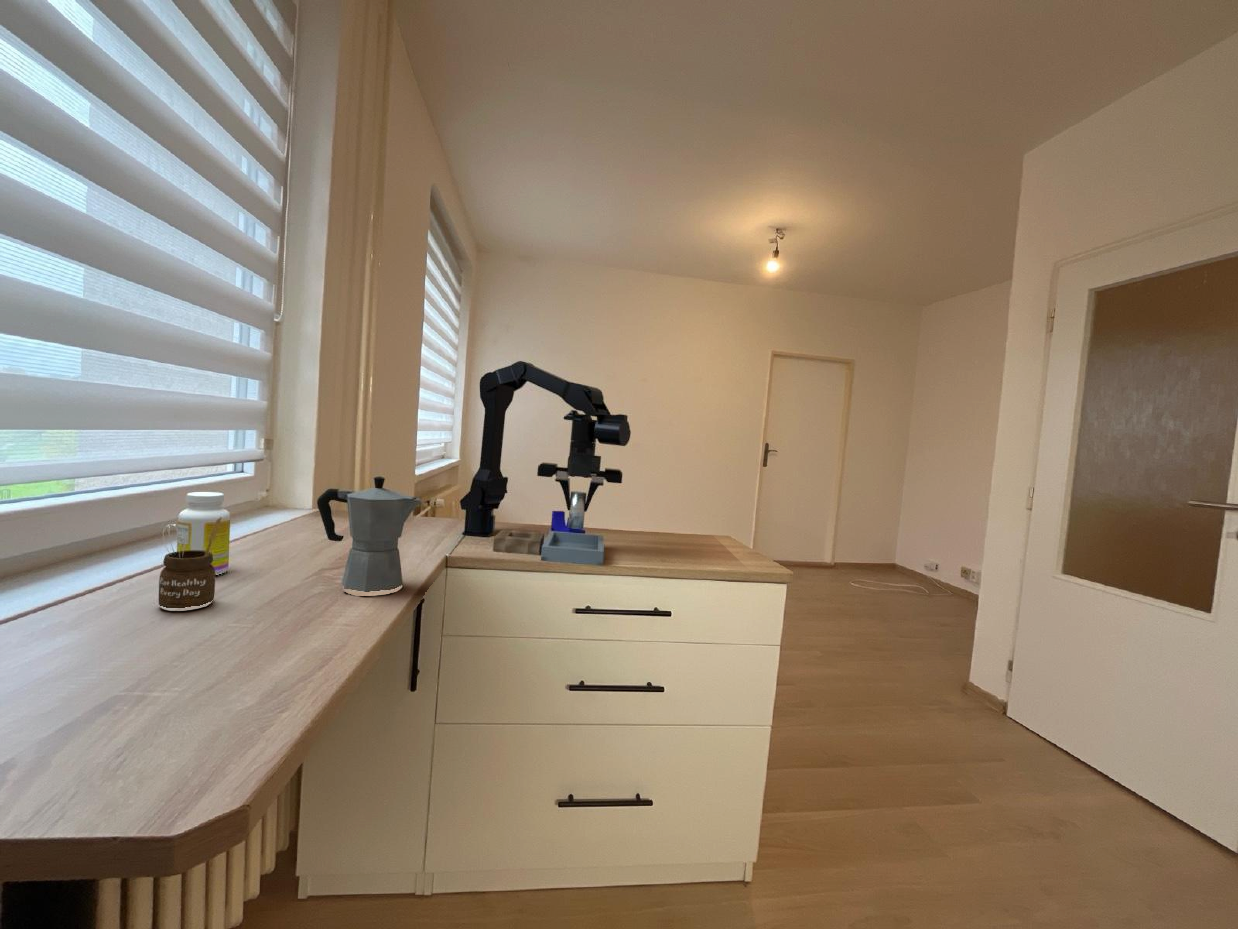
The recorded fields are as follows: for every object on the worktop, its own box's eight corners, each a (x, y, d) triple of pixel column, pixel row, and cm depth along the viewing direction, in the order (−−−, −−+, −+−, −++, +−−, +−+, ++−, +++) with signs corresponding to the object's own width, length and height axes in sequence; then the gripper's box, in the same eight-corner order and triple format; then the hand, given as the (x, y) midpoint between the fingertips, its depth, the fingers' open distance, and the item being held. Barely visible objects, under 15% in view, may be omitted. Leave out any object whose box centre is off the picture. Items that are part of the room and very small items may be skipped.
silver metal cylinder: (567, 528, 122) (570, 492, 122) (568, 525, 126) (571, 490, 125) (583, 529, 122) (586, 494, 122) (583, 526, 126) (586, 492, 125)
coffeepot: (420, 581, 93) (427, 476, 92) (410, 599, 84) (418, 482, 83) (322, 578, 91) (329, 469, 89) (300, 596, 81) (307, 475, 80)
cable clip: (584, 542, 139) (586, 519, 138) (568, 542, 137) (570, 518, 136) (566, 532, 149) (567, 511, 149) (550, 533, 147) (552, 510, 147)
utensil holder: (168, 599, 75) (172, 512, 75) (222, 598, 78) (227, 514, 77) (149, 613, 70) (152, 520, 69) (208, 612, 72) (212, 522, 71)
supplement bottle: (234, 568, 92) (238, 492, 91) (219, 579, 85) (222, 497, 85) (186, 568, 90) (189, 490, 89) (167, 579, 83) (170, 495, 82)
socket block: (492, 551, 120) (493, 537, 120) (501, 541, 130) (502, 529, 130) (538, 554, 120) (539, 541, 120) (543, 545, 130) (544, 532, 130)
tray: (540, 560, 115) (541, 546, 115) (548, 543, 133) (549, 530, 133) (602, 565, 116) (603, 551, 116) (602, 547, 134) (603, 535, 134)
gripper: (537, 438, 115) (531, 512, 116) (626, 446, 115) (619, 520, 116) (542, 437, 126) (537, 505, 127) (624, 445, 126) (617, 512, 127)
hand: (577, 510), depth 124 cm, fingers closed on silver metal cylinder, 3 cm apart
